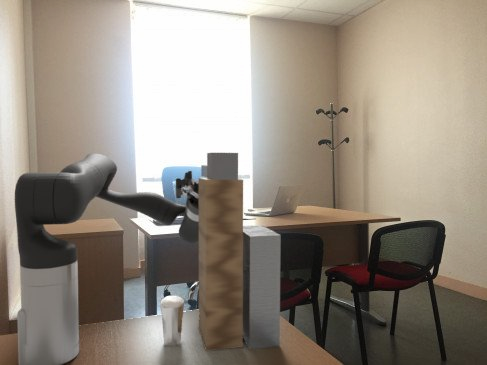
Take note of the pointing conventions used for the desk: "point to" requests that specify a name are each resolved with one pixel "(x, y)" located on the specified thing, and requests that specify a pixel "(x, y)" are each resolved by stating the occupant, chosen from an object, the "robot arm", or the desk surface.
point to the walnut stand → (220, 263)
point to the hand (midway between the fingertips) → (209, 173)
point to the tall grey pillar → (261, 287)
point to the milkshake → (172, 319)
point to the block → (221, 166)
